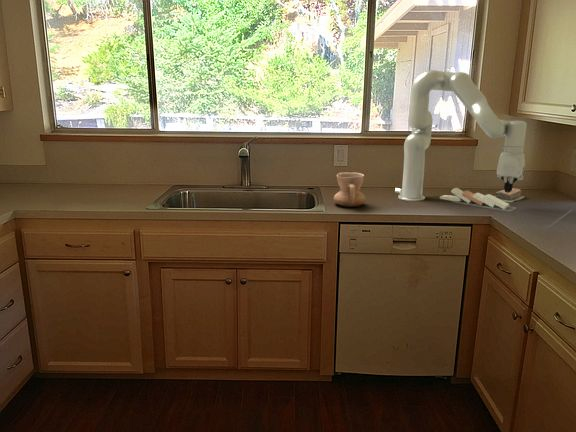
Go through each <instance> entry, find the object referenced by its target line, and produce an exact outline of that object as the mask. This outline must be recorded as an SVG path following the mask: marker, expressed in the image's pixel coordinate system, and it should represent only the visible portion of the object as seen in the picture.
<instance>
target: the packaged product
mask: <svg viewBox="0 0 576 432" xmlns="http://www.w3.org/2000/svg"><path fill="white" fill-rule="evenodd" d="M521 194H522V189H520V188H515V187H513V188H512V191H511V192H509V193H508V192H505V190H504V189H501V190H498V191H496V192H495V195H493V196H494V197H496V198H498V199H500V200H502V201H504V202H506V203H512V202H515V201H518V202H519V201H520V200H522V199H524V198H525V197H526V196H524V195H521Z"/></svg>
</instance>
